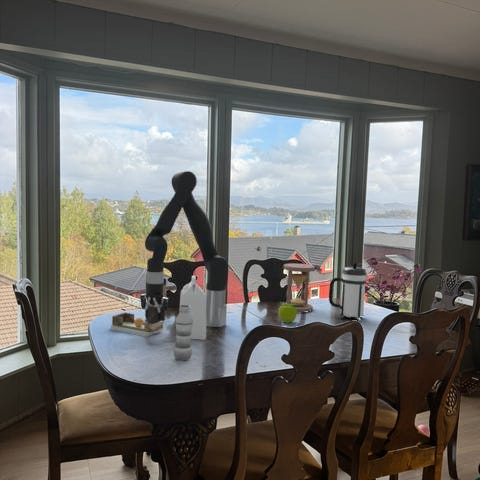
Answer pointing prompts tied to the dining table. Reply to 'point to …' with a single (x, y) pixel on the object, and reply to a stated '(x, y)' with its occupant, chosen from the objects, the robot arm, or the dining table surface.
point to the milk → (195, 307)
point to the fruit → (287, 312)
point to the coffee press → (351, 291)
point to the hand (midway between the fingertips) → (153, 319)
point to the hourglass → (299, 279)
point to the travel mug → (163, 296)
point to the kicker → (153, 319)
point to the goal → (122, 319)
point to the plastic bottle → (183, 334)
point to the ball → (139, 322)
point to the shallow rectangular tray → (134, 329)
